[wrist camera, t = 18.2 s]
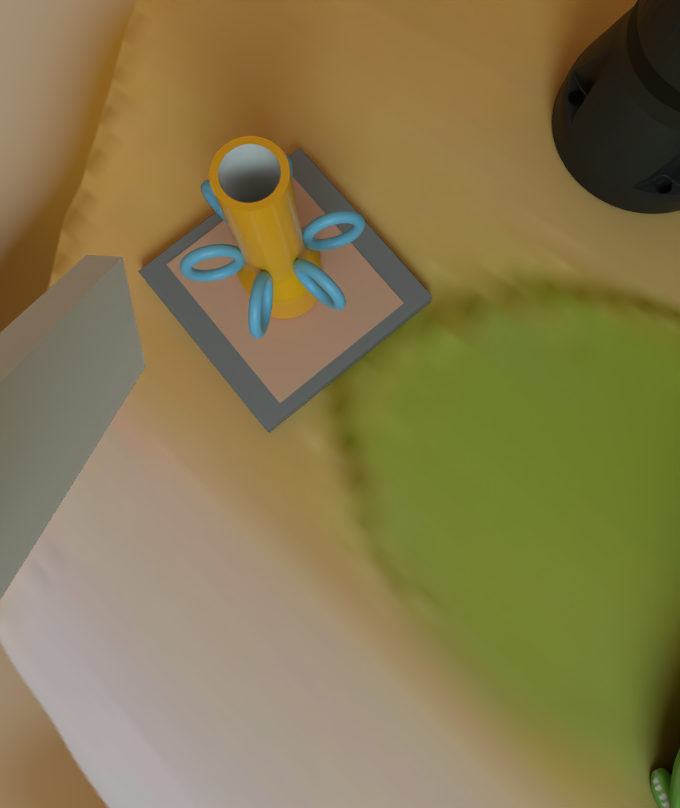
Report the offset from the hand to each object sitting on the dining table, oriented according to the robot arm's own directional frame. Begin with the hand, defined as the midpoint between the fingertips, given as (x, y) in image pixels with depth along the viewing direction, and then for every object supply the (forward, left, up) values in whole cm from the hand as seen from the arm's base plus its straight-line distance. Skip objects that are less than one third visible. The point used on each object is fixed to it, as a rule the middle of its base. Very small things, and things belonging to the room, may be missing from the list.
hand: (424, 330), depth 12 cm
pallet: (-2, -13, -30) cm, 33 cm away
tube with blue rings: (-2, -13, -29) cm, 32 cm away
